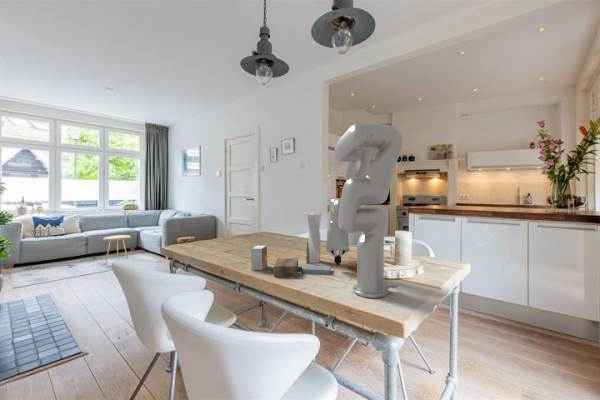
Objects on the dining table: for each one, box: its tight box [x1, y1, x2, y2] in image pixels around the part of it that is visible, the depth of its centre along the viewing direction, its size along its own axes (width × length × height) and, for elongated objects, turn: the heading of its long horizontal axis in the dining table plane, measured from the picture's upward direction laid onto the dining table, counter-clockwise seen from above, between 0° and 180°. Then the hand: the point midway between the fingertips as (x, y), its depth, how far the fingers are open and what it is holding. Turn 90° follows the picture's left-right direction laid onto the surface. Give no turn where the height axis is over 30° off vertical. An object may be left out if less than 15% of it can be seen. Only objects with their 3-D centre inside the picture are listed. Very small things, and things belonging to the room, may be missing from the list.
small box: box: [250, 244, 268, 271], centre depth 133 cm, size 8×6×10 cm
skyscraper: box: [305, 208, 322, 265], centre depth 143 cm, size 8×8×28 cm
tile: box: [302, 265, 332, 275], centre depth 125 cm, size 12×6×2 cm, turn 78°
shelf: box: [273, 258, 303, 278], centre depth 125 cm, size 12×14×5 cm
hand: (337, 264), depth 125 cm, fingers closed
